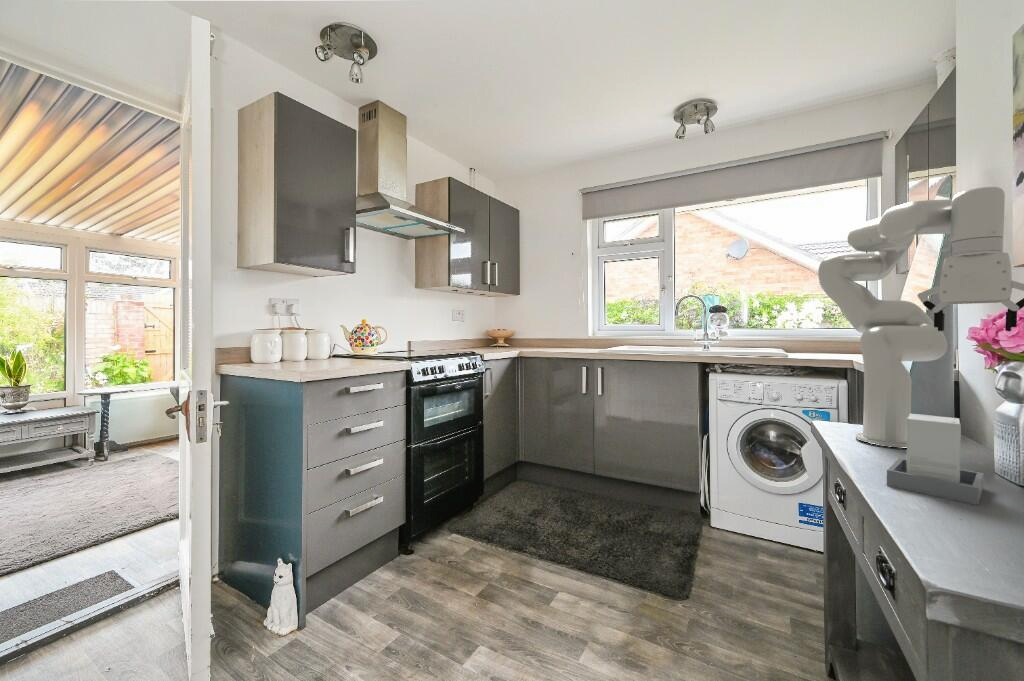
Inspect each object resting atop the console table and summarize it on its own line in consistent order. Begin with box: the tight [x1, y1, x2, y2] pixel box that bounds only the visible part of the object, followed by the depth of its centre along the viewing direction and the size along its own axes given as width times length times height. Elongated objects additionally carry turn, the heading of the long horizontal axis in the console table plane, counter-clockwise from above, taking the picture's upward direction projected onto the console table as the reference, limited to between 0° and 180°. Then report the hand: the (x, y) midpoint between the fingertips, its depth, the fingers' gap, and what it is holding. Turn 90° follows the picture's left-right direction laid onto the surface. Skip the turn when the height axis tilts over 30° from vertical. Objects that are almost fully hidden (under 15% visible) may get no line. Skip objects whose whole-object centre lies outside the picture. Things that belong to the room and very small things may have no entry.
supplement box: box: [906, 413, 962, 483], centre depth 82 cm, size 7×7×13 cm
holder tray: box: [886, 457, 984, 506], centre depth 82 cm, size 12×12×3 cm
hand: (973, 331), depth 89 cm, fingers open, 9 cm apart
